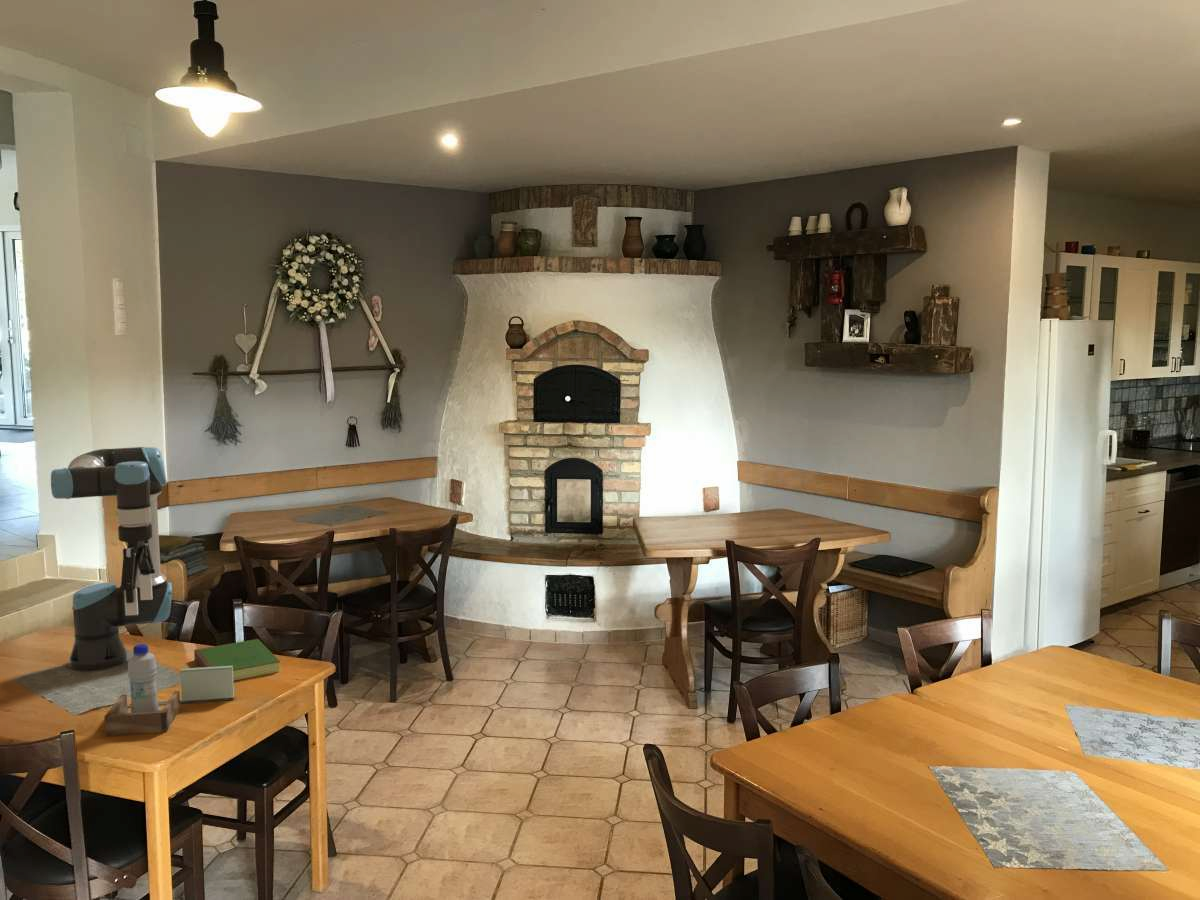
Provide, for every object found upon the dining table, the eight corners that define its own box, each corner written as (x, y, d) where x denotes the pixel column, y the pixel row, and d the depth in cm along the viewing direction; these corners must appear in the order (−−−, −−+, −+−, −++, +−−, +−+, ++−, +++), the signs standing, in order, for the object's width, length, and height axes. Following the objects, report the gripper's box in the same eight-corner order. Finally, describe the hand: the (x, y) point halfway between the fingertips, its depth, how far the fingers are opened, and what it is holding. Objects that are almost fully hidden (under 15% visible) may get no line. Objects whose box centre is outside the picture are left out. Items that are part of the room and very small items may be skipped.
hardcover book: (194, 661, 284) (194, 649, 283) (258, 650, 294) (258, 638, 294) (213, 687, 263) (212, 674, 263) (281, 674, 274) (280, 661, 273)
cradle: (129, 704, 250) (127, 686, 249) (235, 697, 255) (234, 679, 254) (105, 736, 230) (104, 716, 229) (221, 727, 235) (220, 708, 235)
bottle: (148, 726, 236) (143, 649, 233) (124, 724, 237) (119, 647, 235) (165, 715, 242) (161, 640, 240) (142, 713, 244) (138, 639, 241)
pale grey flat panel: (182, 699, 252) (181, 668, 251) (234, 696, 254) (232, 665, 253) (181, 701, 251) (180, 670, 250) (233, 697, 253) (231, 667, 252)
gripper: (132, 515, 245) (136, 594, 247) (102, 535, 221) (108, 622, 223) (163, 514, 246) (167, 592, 249) (137, 533, 222) (142, 620, 225)
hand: (139, 607), depth 236 cm, fingers open, 13 cm apart
